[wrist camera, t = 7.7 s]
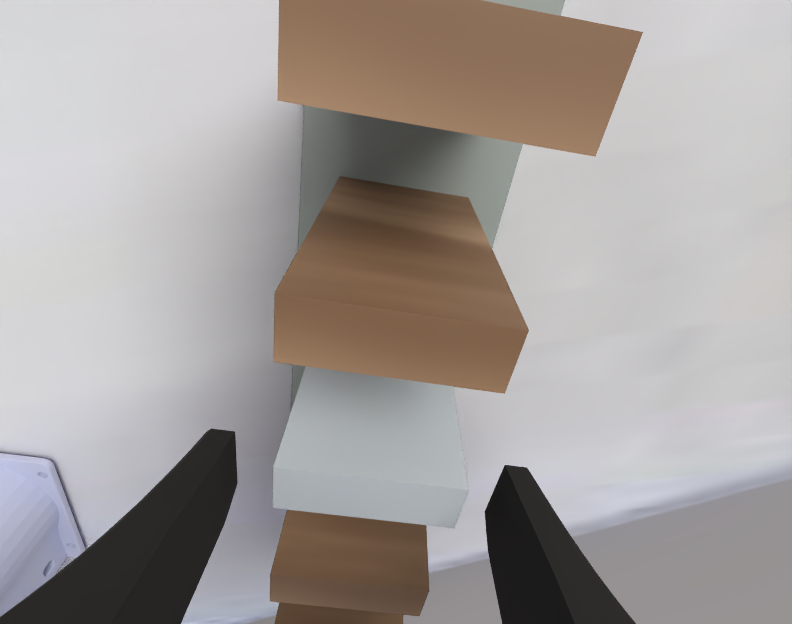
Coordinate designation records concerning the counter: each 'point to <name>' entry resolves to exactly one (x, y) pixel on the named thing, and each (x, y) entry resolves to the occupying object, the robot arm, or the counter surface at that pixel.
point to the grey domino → (372, 450)
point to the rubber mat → (406, 160)
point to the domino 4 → (331, 615)
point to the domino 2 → (399, 291)
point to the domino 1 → (457, 67)
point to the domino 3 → (351, 563)
